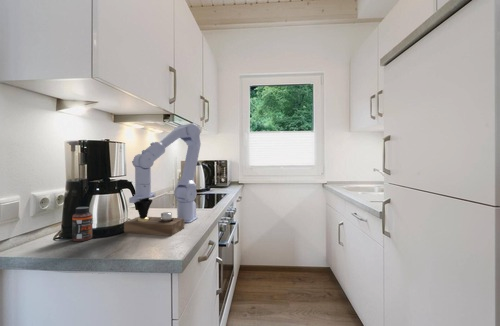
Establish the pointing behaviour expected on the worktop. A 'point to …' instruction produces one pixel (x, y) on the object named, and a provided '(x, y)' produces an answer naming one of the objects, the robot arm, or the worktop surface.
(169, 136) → the robot arm
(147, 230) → the walnut block
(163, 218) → the steel peg
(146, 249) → the worktop surface
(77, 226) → the supplement bottle
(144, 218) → the brass peg
